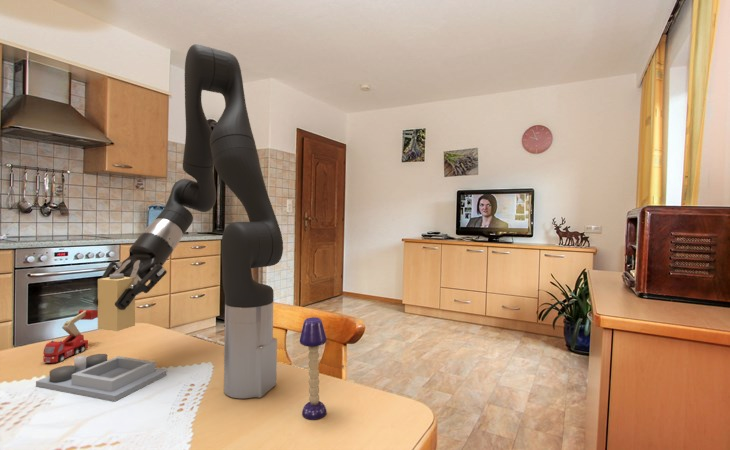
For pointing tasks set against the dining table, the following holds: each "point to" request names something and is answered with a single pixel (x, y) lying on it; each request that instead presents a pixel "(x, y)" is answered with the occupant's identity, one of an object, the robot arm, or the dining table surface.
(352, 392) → the dining table surface
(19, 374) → the dining table surface
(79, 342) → the toy fire truck
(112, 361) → the grey insertion tray
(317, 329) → the toy lamp
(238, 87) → the robot arm
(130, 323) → the tan knobbed block
